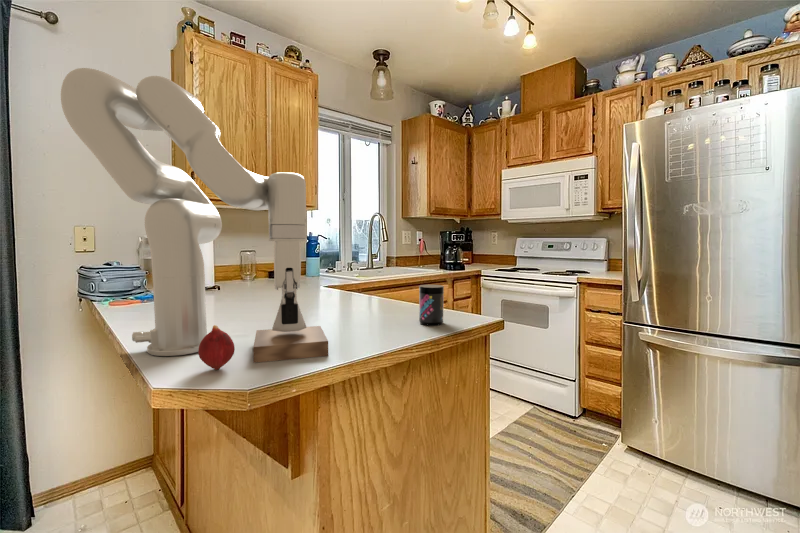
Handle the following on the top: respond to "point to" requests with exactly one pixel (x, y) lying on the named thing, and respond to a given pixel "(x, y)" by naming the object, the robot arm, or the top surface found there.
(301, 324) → the flask
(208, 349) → the onion
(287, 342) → the block
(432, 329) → the top surface
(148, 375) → the top surface
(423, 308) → the supplement container
